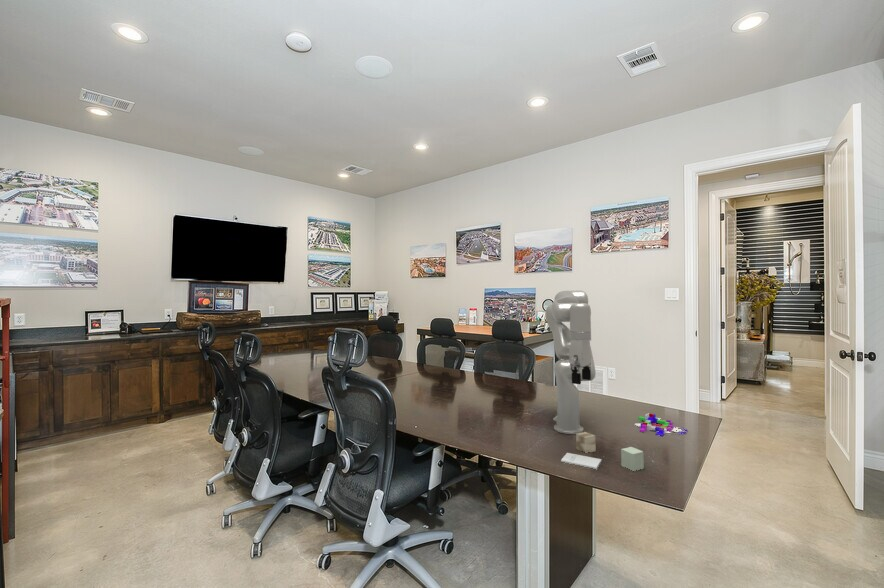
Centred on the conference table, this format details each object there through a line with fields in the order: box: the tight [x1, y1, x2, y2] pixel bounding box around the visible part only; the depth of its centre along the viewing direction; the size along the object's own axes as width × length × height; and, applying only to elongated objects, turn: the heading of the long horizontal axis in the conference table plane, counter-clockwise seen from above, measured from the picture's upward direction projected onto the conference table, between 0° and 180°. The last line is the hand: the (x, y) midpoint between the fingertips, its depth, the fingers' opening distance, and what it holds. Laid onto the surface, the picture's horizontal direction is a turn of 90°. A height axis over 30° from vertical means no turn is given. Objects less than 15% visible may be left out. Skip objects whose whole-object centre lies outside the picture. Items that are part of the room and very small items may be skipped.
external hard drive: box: [560, 452, 603, 471], centre depth 144 cm, size 2×8×12 cm
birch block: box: [575, 431, 597, 454], centre depth 155 cm, size 5×5×6 cm
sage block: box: [620, 446, 645, 472], centre depth 139 cm, size 5×5×6 cm
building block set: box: [634, 412, 688, 437], centre depth 180 cm, size 25×20×4 cm
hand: (581, 381), depth 150 cm, fingers open, 9 cm apart
